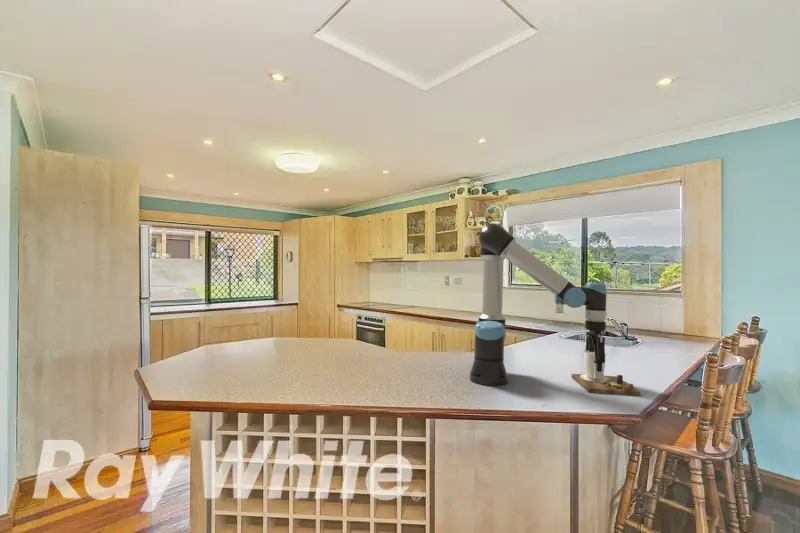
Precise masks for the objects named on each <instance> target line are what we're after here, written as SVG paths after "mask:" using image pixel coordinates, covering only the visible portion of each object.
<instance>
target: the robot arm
mask: <svg viewBox="0 0 800 533" xmlns="http://www.w3.org/2000/svg"><path fill="white" fill-rule="evenodd" d="M478 240H479V243H480V254H479V256H480V257H481V259H482V260H483V268H482V269H483V270H482V272H483V275H482V307H481V308H482V309H481V310H482V312H481V314H480V315H479V316H478V322H477V323H476V324H475V325H474V331H473V332H474V352H473V354H474V355H473V356H474V357H473V358H474V359H473V362H472V365H471V369H470V372H469V380H470V381H471V382H473V383H476V384H479V385H485V386H502V385H505V384H506V385H507V384H508V383H509V382H508V381H509V376H508V372H507V370H506V367H505V361H504V356H505V354H504V352H505V351H504V350H505V339H506V336H507V332H506V331H507V330H506V317H505V316H504V315H503V294H504V291H503V289H504V261H505V259H506V260H507V261H509V262H510V264H513V265H514V266H516V267H517V268H518V269H519V270H520V271H522V272H523V273H524V274H526V275H528V277H530V278H532V279H533V280H534V281H536V282H537V283H538V284H539V285H541V286H542V287H543V288H545V289H546V290H547V291H548V292H549V293H551V294H553V295H554V303H555V304H556V305H562V306H564V305H567V306H568V307H569V308H572V309H574V308H575V309H576V308H580V307H582V306H585V309H584V310H585V312H584V314H585V315H584V318H585V321H584V323H585V324H584V329H585V330H588V331H587V332H586V333H585V335H586V336H585V337H586V339H585V351H588V350H589V352H595V360H596V361H594V363H595V364H594V379H600V380H602V363H605V364H606V356H605V354H606V353H605V352H606V350H605V349H606V347H605V344H606V343H605V341H606V338H605V337H604V336H602V332H605V331H606V329H607V327H606V325H607V322H606V320H607V315H608V313H607V286H606V284H605V283H603V282H587V283H585V286H582V287H581V286H580V287H578V286H576V285H574V284H573V283H572V282H571V281H569V280H568V279H567V278H565V277H564V276H563V275H561V274H560V273H558V272H557V271H556V270H555V269H553V268H552V267H551V266H549V265H547V264H546V263H545V262H543V261H542V260H541V259H539V257H537V256H535V255H534V254H533V253H531V252H530V251H529V250H527V249H526V248H525V247H523V246H522V245H520V244H519V243H518V242H517V239H516V237H514V236H513V235H512V234H510V233H509V232H508V231H507V230H506V229H505V228H504V226H502V225H500V224H498V223H494V222H493V223H488V224H486V225H484V226H483V227H482V228H481V229H480V231H479V235H478Z"/></svg>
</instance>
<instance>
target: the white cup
mask: <svg viewBox="0 0 800 533" xmlns="http://www.w3.org/2000/svg"><path fill="white" fill-rule="evenodd" d="M605 357H606V353H605ZM594 361H596V360H595V352H589V350H588V351H586V350H584V351H583V363H584V364H583V365H584V366H583V367H584V374H585V376H586V377H588V378H593V379H594V364H595V363H594ZM605 366H606V362H605V363H602V379H603V378H604V376H605Z"/></svg>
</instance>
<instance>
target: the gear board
mask: <svg viewBox="0 0 800 533" xmlns="http://www.w3.org/2000/svg"><path fill="white" fill-rule="evenodd" d="M571 378H572V379H573V380H574V381H575V382H576V383H577V384H578V385H580V387H582V388H583V389H584V390H585V391H586V392H587V393H591V394H592V393H593V394H606V395H618V394H621V395H622V396H633V397H634V396H636V397H642V391H640V390H638V389H637V388H636V387H635V386H634V384H633V383H629V382H627V381H624V380H623V379H624V378H623V375H622V374H617V375H615V376H613V375H604V378H603V379H602V380H600V379H593V378H588V377H586V376H585V373H584V374H582V373H579V374H578V373H571Z"/></svg>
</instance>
